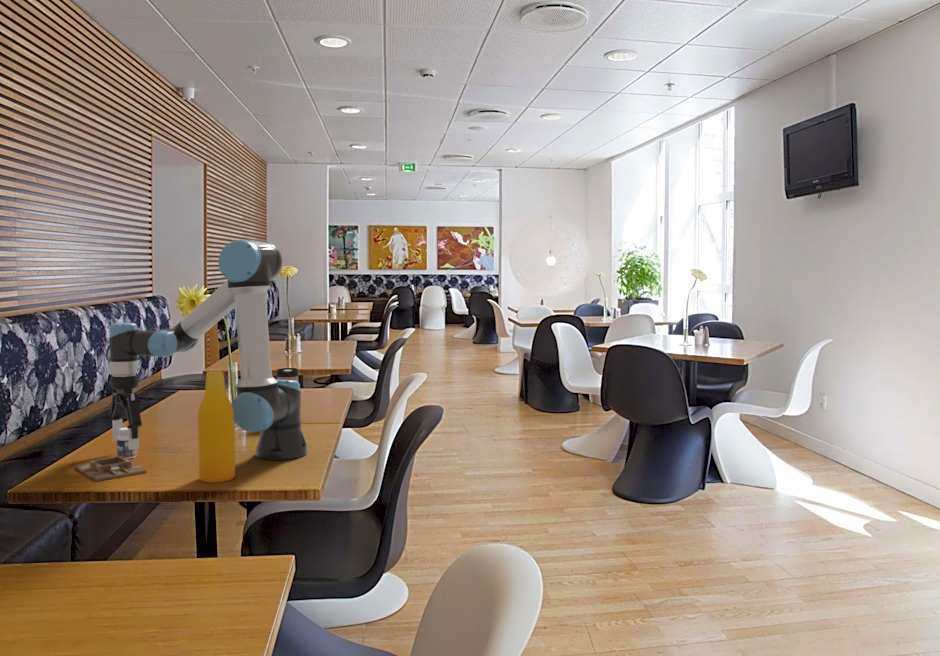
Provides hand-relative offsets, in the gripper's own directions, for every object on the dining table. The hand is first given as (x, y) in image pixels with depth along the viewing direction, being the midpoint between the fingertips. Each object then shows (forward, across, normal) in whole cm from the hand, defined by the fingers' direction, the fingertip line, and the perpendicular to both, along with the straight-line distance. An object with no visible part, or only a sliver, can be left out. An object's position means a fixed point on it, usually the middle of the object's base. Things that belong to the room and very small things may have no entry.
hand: (125, 445), depth 227 cm
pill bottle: (+4, 0, 0) cm, 4 cm away
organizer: (+4, -12, +8) cm, 15 cm away
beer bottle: (+3, -40, -10) cm, 42 cm away
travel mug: (+4, +12, -61) cm, 62 cm away
